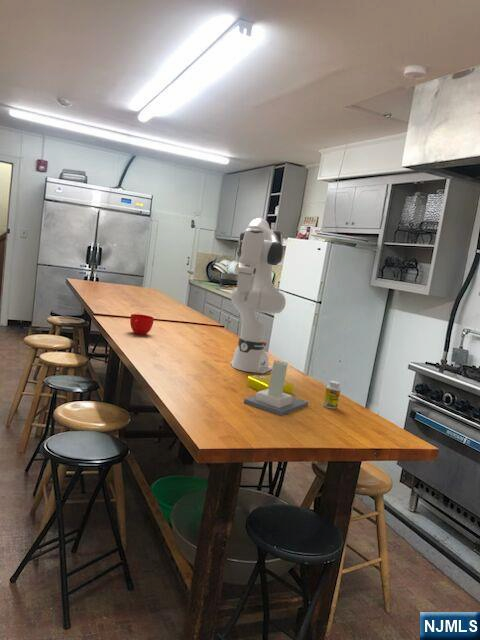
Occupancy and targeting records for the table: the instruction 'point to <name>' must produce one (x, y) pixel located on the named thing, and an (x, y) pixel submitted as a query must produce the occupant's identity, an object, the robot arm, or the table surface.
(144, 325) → the ceramic cup
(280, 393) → the sage block
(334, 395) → the supplement bottle
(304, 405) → the slate board
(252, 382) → the element tile
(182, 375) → the table surface
